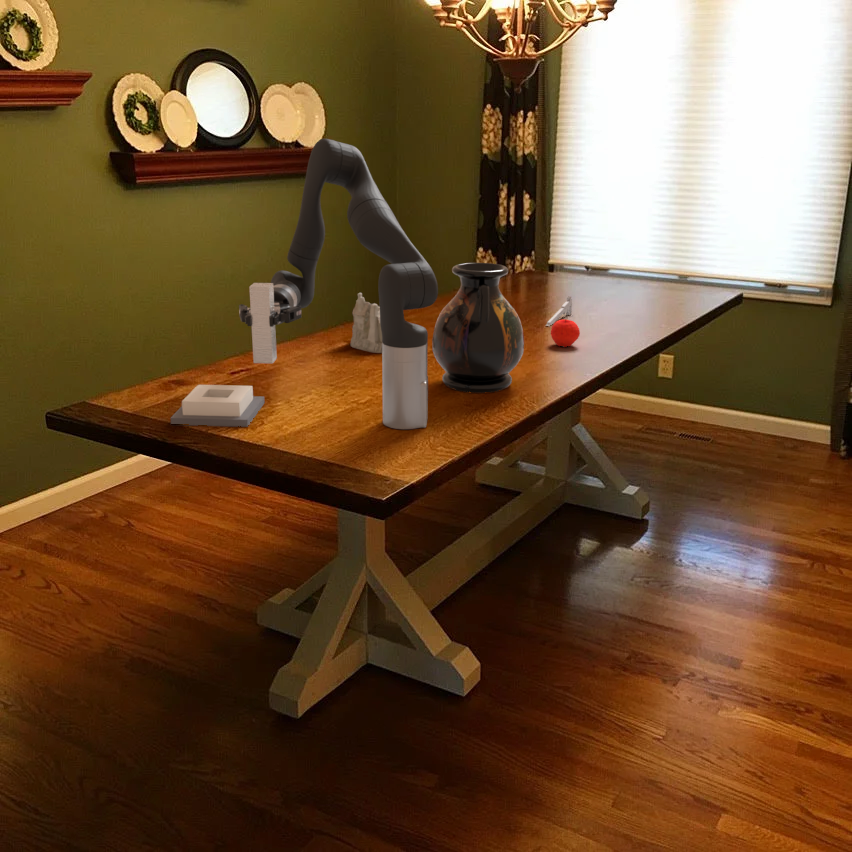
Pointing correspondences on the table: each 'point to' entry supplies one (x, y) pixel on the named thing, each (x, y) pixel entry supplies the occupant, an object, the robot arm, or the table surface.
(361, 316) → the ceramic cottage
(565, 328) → the apple
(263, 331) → the steel peg
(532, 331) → the table surface
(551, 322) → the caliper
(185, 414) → the socket block
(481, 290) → the black painted vase
